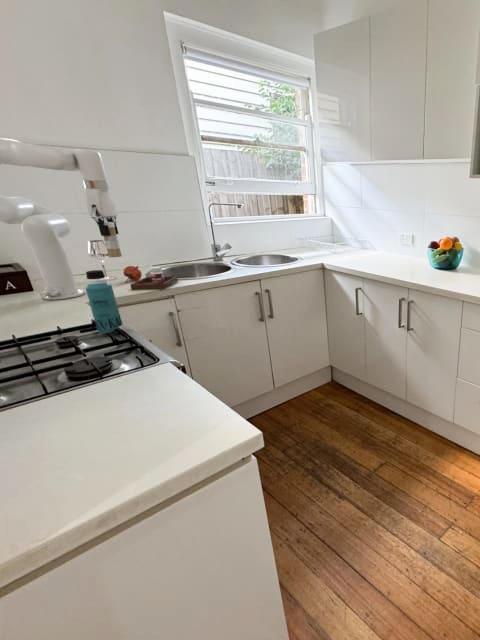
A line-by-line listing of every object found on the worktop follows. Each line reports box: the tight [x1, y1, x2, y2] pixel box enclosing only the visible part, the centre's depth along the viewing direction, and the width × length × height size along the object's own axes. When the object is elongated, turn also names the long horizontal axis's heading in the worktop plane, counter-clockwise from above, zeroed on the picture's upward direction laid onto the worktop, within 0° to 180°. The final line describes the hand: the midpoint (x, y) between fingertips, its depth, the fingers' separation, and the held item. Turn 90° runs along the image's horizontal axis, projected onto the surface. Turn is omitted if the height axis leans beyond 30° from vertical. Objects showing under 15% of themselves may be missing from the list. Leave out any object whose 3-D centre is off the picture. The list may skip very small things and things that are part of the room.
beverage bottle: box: [84, 269, 124, 334], centre depth 114 cm, size 6×7×20 cm
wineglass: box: [87, 239, 116, 281], centre depth 181 cm, size 8×8×18 cm
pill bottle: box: [149, 266, 165, 284], centre depth 170 cm, size 5×5×8 cm
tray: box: [129, 276, 179, 291], centre depth 174 cm, size 15×13×2 cm
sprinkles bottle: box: [103, 221, 123, 258], centre depth 153 cm, size 5×5×13 cm
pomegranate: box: [122, 265, 143, 283], centre depth 181 cm, size 7×7×10 cm
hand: (110, 234), depth 152 cm, fingers closed on sprinkles bottle, 4 cm apart
